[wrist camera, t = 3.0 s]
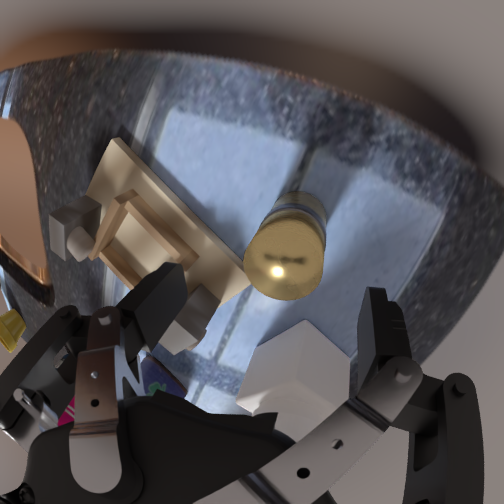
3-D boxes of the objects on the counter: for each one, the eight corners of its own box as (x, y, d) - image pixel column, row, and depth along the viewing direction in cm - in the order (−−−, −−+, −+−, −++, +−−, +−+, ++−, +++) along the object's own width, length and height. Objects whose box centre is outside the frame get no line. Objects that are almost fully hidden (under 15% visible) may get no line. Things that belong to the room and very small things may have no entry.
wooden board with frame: (258, 276, 23) (236, 325, 17) (185, 330, 29) (159, 369, 24) (119, 137, 20) (67, 150, 15) (79, 222, 26) (41, 246, 21)
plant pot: (35, 335, 53) (14, 357, 45) (23, 329, 56) (4, 348, 48) (16, 304, 49) (-7, 325, 40) (6, 301, 52) (-14, 320, 44)
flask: (142, 355, 35) (104, 409, 26) (155, 354, 33) (115, 413, 24) (179, 394, 38) (150, 446, 28) (192, 394, 36) (163, 450, 27)
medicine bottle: (299, 381, 28) (276, 476, 18) (254, 346, 27) (213, 448, 17) (351, 357, 24) (342, 469, 14) (305, 316, 23) (278, 441, 13)
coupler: (338, 221, 19) (340, 274, 13) (296, 253, 21) (280, 312, 15) (300, 178, 18) (283, 212, 12) (259, 214, 20) (226, 261, 14)
